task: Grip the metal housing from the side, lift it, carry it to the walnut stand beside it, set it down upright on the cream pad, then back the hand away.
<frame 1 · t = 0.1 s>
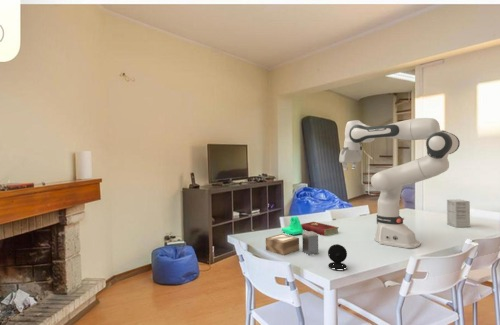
hand: (349, 169, 183), 39 cm above the table, tool pointing down, fingers open, 8 cm apart
webcam: (337, 268, 128), on the table
stand: (282, 249, 154), on the table
hardcover book: (319, 232, 191), on the table
housing: (310, 252, 148), on the table
supplement box: (458, 225, 199), on the table
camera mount: (291, 233, 187), on the table
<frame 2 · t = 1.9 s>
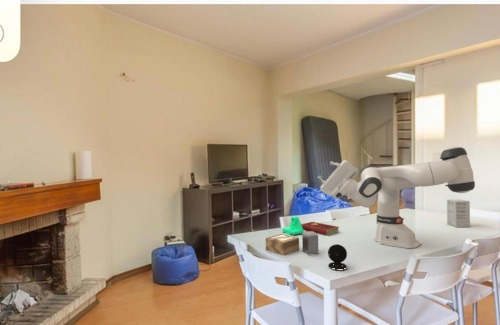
hand: (324, 169, 155), 41 cm above the table, tool pointing upward, fingers open, 8 cm apart
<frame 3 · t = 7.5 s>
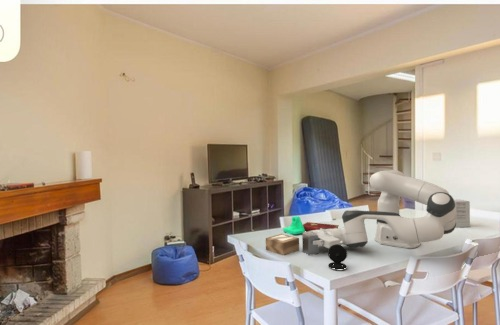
hand: (308, 240, 148), 6 cm above the table, tool horizontal, fingers closed on housing, 5 cm apart
housing: (310, 252, 148), on the table, touching gripper
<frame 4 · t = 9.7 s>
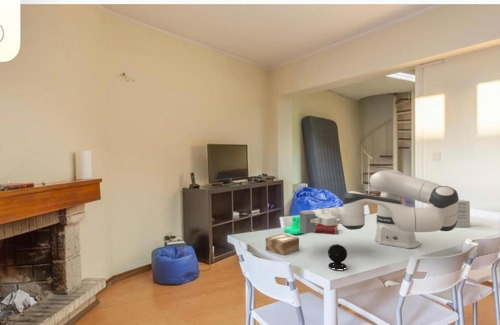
hand: (306, 219, 147), 17 cm above the table, tool horizontal, fingers closed on housing, 5 cm apart
housing: (307, 231, 148), point 11 cm above the table, touching gripper
when the fingers open (13 cm above the table, at t = 11.9 s): housing drops 1 cm, resting on stand.
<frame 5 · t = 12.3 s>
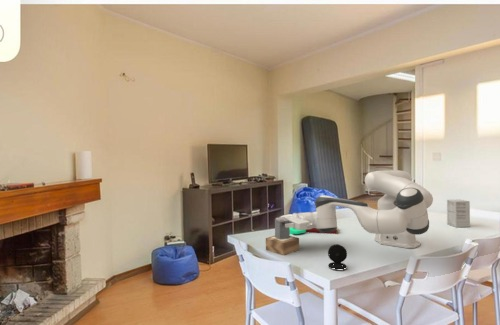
hand: (280, 223, 153), 13 cm above the table, tool horizontal, fingers open, 8 cm apart
housing: (282, 237, 154), point 6 cm above the table, touching stand
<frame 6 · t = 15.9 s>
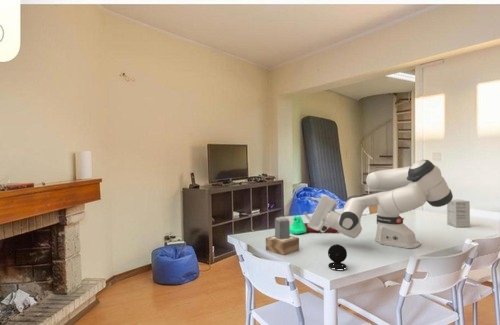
hand: (307, 205, 167), 20 cm above the table, tool pointing upward, fingers open, 8 cm apart
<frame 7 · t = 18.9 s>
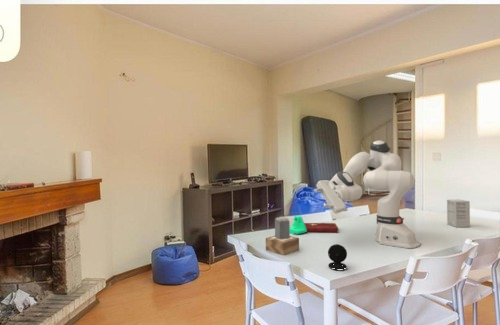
hand: (319, 198, 160), 25 cm above the table, tool horizontal, fingers open, 8 cm apart
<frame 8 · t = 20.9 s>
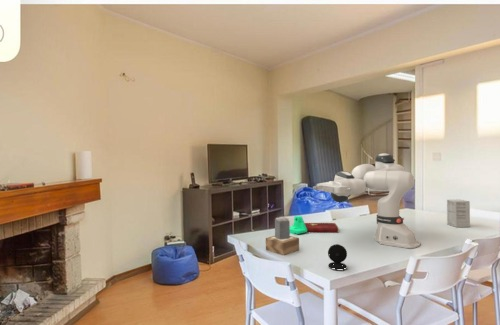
hand: (319, 189, 161), 30 cm above the table, tool horizontal, fingers open, 8 cm apart
at the end: housing inside the target area on the stand (0.0 cm from its centre), point 6.2 cm above the stand's base; housing tilted 0°; the gripper is holding nothing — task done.
